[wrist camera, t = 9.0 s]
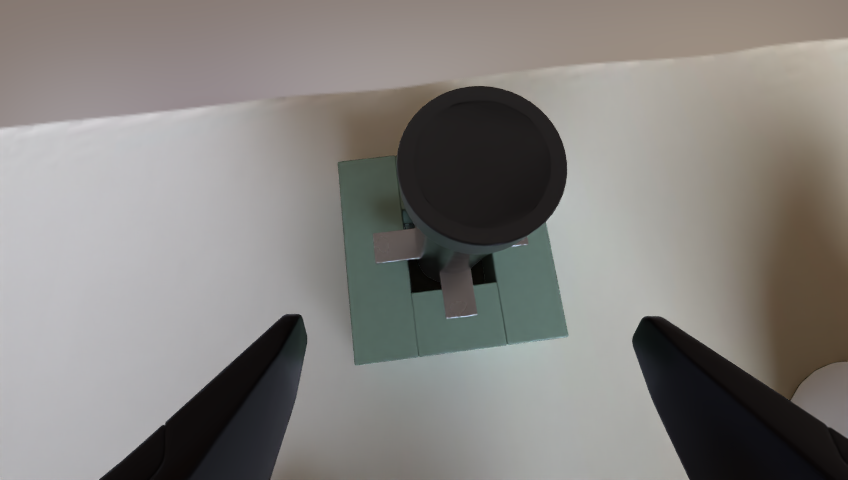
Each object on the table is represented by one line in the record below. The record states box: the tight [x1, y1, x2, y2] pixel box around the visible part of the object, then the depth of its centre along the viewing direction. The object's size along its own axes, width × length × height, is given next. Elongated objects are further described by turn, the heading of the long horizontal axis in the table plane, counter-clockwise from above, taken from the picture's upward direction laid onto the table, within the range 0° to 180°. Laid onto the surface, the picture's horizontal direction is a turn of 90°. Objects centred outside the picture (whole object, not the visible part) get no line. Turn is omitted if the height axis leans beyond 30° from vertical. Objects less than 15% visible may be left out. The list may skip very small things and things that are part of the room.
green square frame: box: [338, 156, 568, 365], centre depth 19 cm, size 10×10×3 cm
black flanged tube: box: [373, 86, 567, 319], centre depth 14 cm, size 7×7×13 cm
